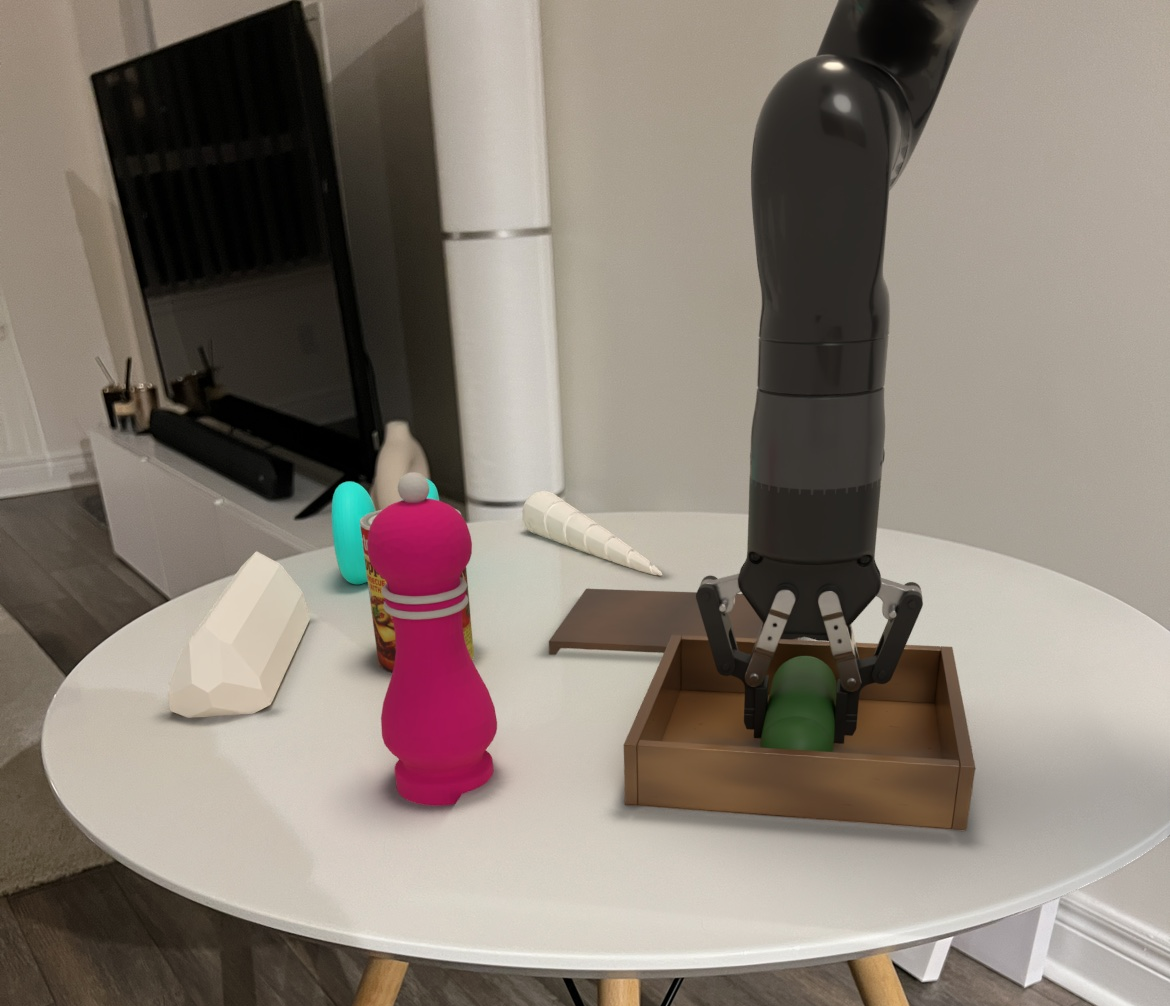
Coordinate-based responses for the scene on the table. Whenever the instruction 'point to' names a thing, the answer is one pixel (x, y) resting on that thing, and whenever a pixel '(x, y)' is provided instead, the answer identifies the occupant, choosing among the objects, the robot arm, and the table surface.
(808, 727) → the cucumber
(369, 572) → the canned food
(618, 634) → the cutting board
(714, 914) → the table surface
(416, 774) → the pepper mill
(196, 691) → the crystal
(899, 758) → the wooden tray
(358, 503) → the donuts
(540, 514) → the unicorn horn
